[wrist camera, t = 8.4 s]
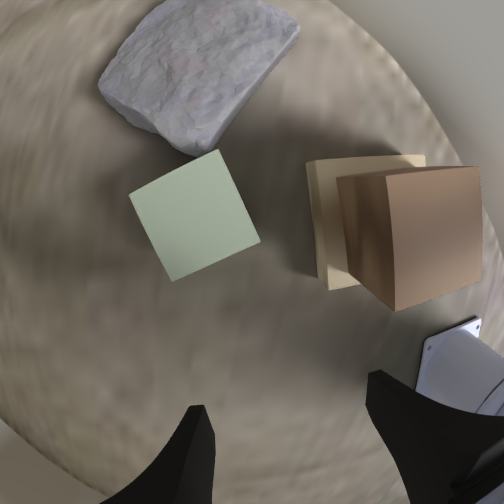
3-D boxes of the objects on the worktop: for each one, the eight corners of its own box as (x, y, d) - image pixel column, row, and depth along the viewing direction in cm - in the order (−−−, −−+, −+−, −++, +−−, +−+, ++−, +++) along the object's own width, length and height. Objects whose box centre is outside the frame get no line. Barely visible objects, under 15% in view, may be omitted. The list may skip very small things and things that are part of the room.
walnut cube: (423, 253, 18) (480, 279, 12) (348, 273, 18) (395, 312, 12) (415, 166, 16) (478, 166, 10) (335, 177, 16) (385, 176, 10)
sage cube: (253, 226, 19) (260, 241, 14) (186, 258, 19) (172, 282, 15) (222, 157, 18) (218, 148, 13) (154, 191, 18) (128, 194, 13)
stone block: (110, 114, 18) (213, 173, 18) (74, 92, 14) (191, 157, 13) (199, 5, 17) (307, 46, 17) (184, -31, 12) (312, 5, 12)
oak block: (408, 258, 21) (429, 268, 18) (316, 276, 21) (328, 290, 18) (402, 157, 19) (424, 154, 16) (303, 163, 19) (315, 160, 16)
